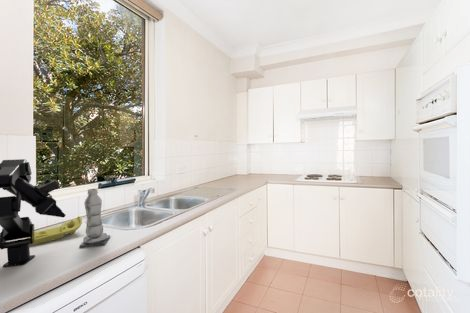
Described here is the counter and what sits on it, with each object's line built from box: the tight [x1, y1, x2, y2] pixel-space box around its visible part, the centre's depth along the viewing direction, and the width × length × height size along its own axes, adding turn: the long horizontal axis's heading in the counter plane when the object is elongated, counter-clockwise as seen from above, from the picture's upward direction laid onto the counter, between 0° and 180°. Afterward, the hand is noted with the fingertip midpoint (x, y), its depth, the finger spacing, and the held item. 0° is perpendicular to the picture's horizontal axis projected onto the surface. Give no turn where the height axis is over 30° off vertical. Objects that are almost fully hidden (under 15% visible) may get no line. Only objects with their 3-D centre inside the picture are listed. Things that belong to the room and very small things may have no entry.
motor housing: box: [79, 232, 111, 249], centre depth 101 cm, size 9×9×2 cm
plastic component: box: [28, 215, 83, 246], centre depth 108 cm, size 20×7×10 cm
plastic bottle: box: [83, 188, 104, 238], centre depth 100 cm, size 6×7×20 cm
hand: (62, 213), depth 96 cm, fingers open, 9 cm apart
